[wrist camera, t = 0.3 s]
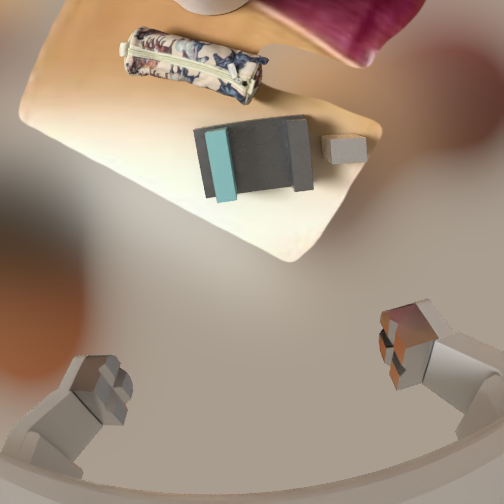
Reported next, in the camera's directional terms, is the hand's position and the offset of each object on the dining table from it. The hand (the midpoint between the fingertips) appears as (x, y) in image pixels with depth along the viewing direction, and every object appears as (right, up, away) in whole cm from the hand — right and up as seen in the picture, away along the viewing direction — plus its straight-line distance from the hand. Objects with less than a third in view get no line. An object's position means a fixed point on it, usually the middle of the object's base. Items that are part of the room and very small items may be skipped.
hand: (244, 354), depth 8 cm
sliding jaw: (-4, +18, +40) cm, 44 cm away
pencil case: (-9, +34, +35) cm, 49 cm away
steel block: (+15, +21, +41) cm, 49 cm away
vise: (0, +19, +42) cm, 46 cm away
